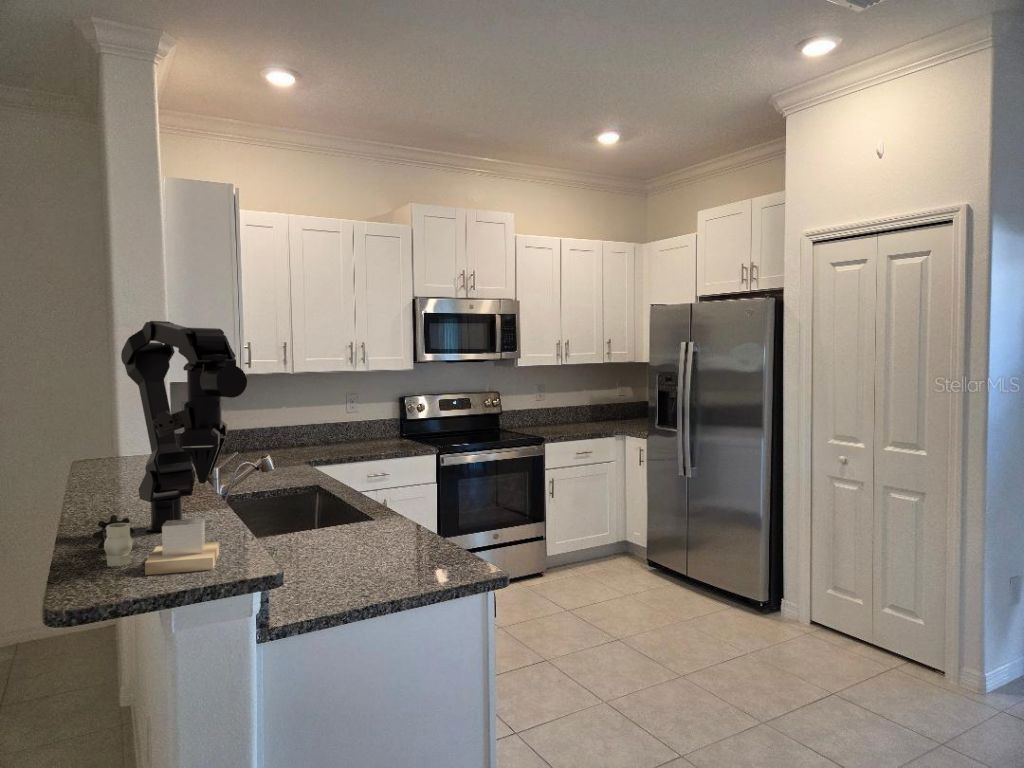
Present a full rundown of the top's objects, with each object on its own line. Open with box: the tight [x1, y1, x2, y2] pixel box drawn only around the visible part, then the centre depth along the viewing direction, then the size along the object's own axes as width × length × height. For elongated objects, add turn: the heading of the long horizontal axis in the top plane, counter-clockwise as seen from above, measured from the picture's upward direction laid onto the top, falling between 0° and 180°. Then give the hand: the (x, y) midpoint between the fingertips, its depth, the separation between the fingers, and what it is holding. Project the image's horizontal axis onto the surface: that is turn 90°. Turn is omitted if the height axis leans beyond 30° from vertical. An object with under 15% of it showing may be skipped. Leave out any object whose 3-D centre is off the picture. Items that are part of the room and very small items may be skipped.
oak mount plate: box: [144, 541, 220, 576], centre depth 117 cm, size 10×10×2 cm
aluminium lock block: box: [161, 517, 206, 556], centre depth 117 cm, size 4×6×5 cm, turn 107°
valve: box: [91, 513, 136, 567], centre depth 120 cm, size 7×7×12 cm
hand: (205, 478), depth 129 cm, fingers open, 9 cm apart
